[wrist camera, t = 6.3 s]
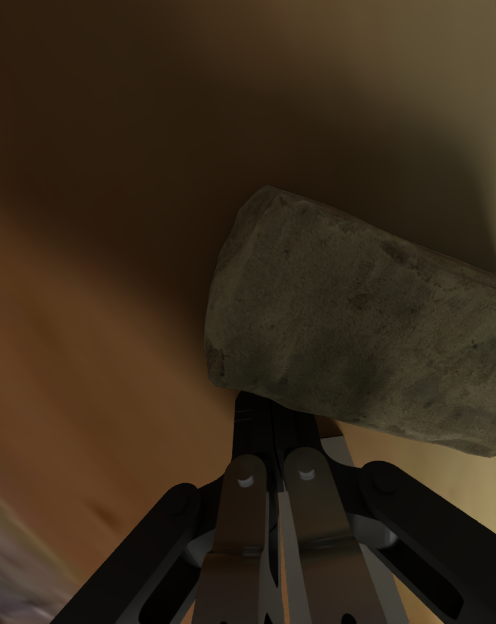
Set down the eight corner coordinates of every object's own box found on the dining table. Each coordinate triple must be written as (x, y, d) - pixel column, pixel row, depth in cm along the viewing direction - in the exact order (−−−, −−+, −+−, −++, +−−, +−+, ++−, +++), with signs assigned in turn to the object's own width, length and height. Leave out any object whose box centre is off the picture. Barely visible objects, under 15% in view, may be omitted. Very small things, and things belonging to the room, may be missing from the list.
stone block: (424, 376, 14) (506, 475, 9) (203, 310, 12) (175, 391, 8) (511, 273, 11) (679, 342, 7) (244, 171, 10) (237, 175, 5)
